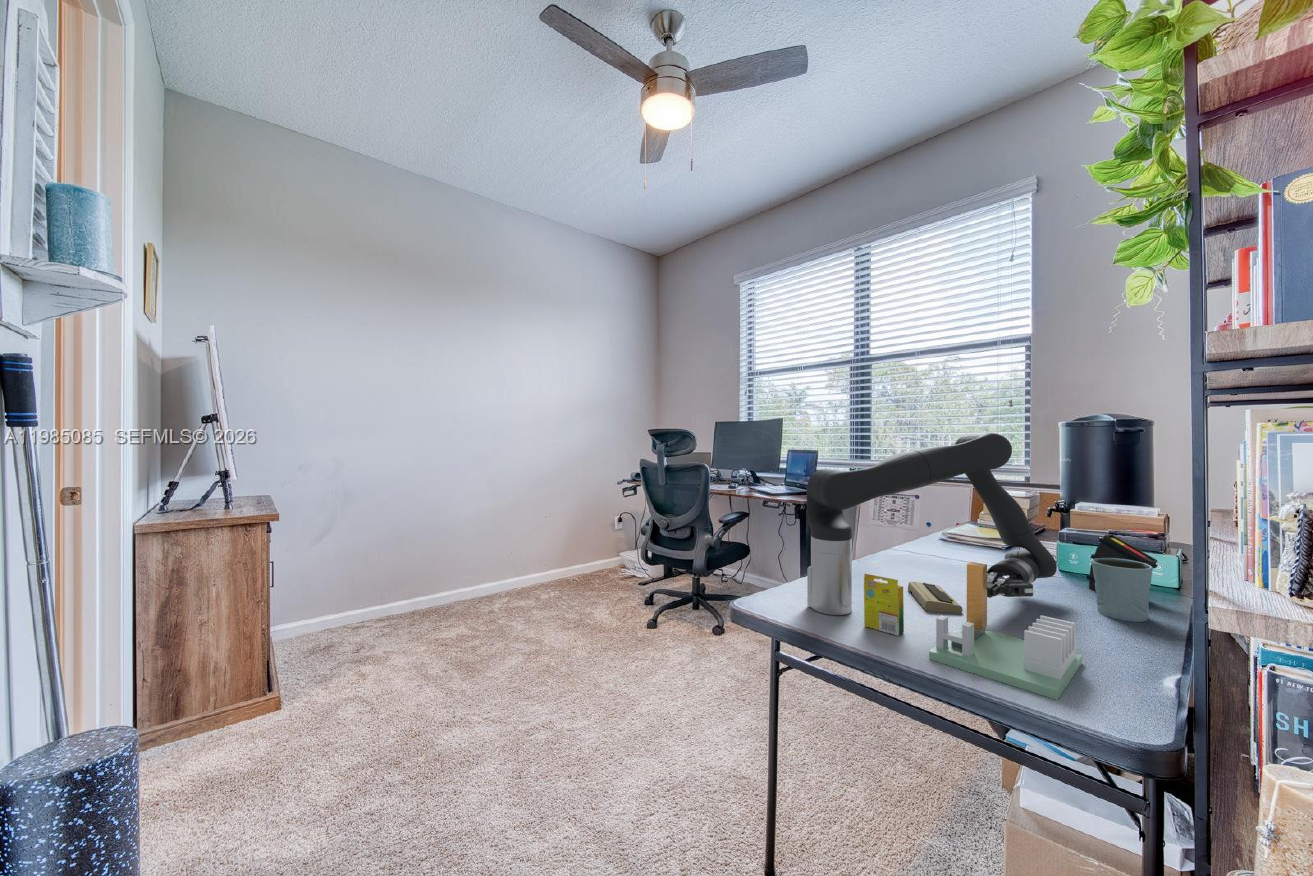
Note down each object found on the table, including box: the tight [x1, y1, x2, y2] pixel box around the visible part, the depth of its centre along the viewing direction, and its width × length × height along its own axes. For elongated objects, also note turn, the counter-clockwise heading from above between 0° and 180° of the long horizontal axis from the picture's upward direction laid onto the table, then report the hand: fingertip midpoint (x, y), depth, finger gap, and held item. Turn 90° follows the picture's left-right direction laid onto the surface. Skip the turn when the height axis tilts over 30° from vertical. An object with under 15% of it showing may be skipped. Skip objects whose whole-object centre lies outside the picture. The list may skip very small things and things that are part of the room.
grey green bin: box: [1091, 558, 1154, 623], centre depth 115 cm, size 10×10×12 cm
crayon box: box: [863, 573, 905, 637], centre depth 107 cm, size 7×3×12 cm, turn 43°
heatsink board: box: [928, 614, 1083, 701], centre depth 93 cm, size 19×19×8 cm
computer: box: [907, 581, 963, 615], centre depth 125 cm, size 16×8×3 cm, turn 167°
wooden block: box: [951, 561, 988, 649], centre depth 99 cm, size 3×12×14 cm, turn 131°
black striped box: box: [1086, 534, 1159, 591], centre depth 129 cm, size 4×13×15 cm, turn 19°
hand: (986, 592), depth 106 cm, fingers closed
